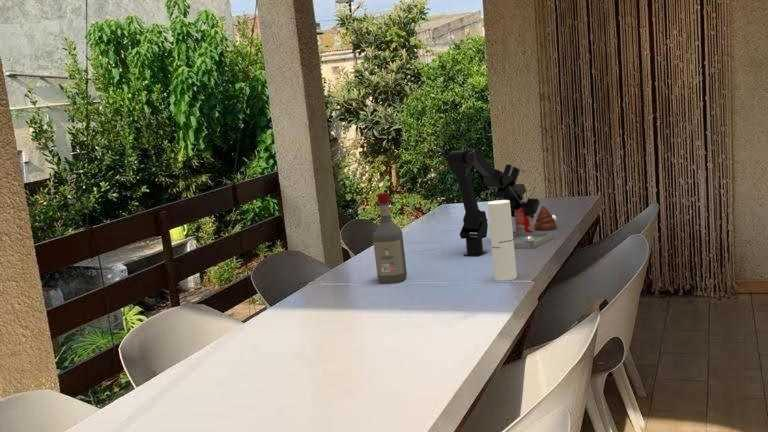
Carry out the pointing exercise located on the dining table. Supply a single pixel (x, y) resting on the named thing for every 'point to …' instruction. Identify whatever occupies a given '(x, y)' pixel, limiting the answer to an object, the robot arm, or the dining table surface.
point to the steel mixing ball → (529, 239)
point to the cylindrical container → (502, 240)
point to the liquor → (388, 246)
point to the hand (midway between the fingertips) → (525, 217)
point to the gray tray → (538, 237)
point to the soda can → (523, 221)
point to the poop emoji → (545, 220)
